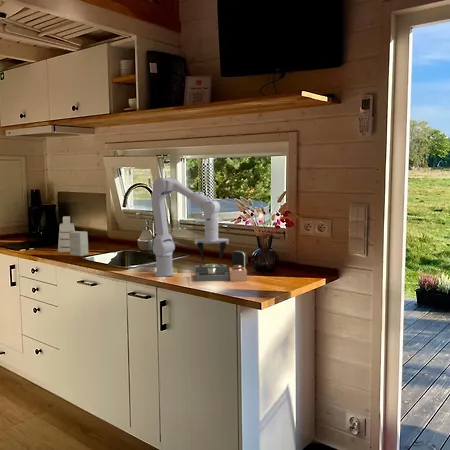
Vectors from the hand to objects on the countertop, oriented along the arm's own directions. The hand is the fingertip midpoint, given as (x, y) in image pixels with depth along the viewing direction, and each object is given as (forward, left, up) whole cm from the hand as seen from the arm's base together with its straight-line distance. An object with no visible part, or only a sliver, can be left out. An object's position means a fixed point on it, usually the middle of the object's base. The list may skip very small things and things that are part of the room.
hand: (211, 260), depth 212 cm
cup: (+2, +11, -9) cm, 14 cm away
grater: (-86, -81, -9) cm, 118 cm away
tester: (-2, 0, -9) cm, 9 cm away
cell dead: (+2, +11, -8) cm, 14 cm away
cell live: (0, 0, -8) cm, 8 cm away
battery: (-6, +13, -9) cm, 17 cm away
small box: (-70, -71, -9) cm, 100 cm away
